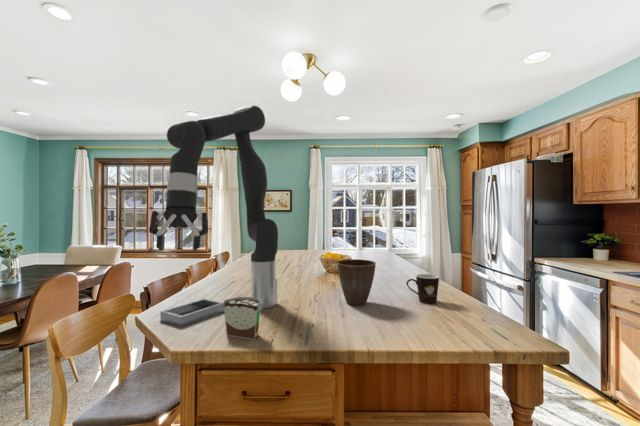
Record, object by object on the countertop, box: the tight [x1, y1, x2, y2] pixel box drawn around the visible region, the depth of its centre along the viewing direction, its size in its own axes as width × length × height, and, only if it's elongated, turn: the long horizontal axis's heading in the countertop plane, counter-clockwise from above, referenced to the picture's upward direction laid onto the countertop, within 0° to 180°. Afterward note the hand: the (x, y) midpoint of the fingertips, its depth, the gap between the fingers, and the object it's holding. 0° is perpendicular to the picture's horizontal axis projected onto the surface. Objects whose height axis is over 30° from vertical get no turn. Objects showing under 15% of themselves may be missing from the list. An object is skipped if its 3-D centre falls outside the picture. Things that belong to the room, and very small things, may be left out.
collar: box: [160, 298, 225, 328], centre depth 102 cm, size 17×11×3 cm, turn 149°
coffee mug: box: [406, 273, 440, 305], centre depth 118 cm, size 12×9×10 cm
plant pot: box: [336, 258, 377, 307], centre depth 115 cm, size 15×15×16 cm
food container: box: [222, 296, 263, 341], centre depth 86 cm, size 12×6×10 cm, turn 71°
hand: (178, 250), depth 79 cm, fingers open, 8 cm apart
